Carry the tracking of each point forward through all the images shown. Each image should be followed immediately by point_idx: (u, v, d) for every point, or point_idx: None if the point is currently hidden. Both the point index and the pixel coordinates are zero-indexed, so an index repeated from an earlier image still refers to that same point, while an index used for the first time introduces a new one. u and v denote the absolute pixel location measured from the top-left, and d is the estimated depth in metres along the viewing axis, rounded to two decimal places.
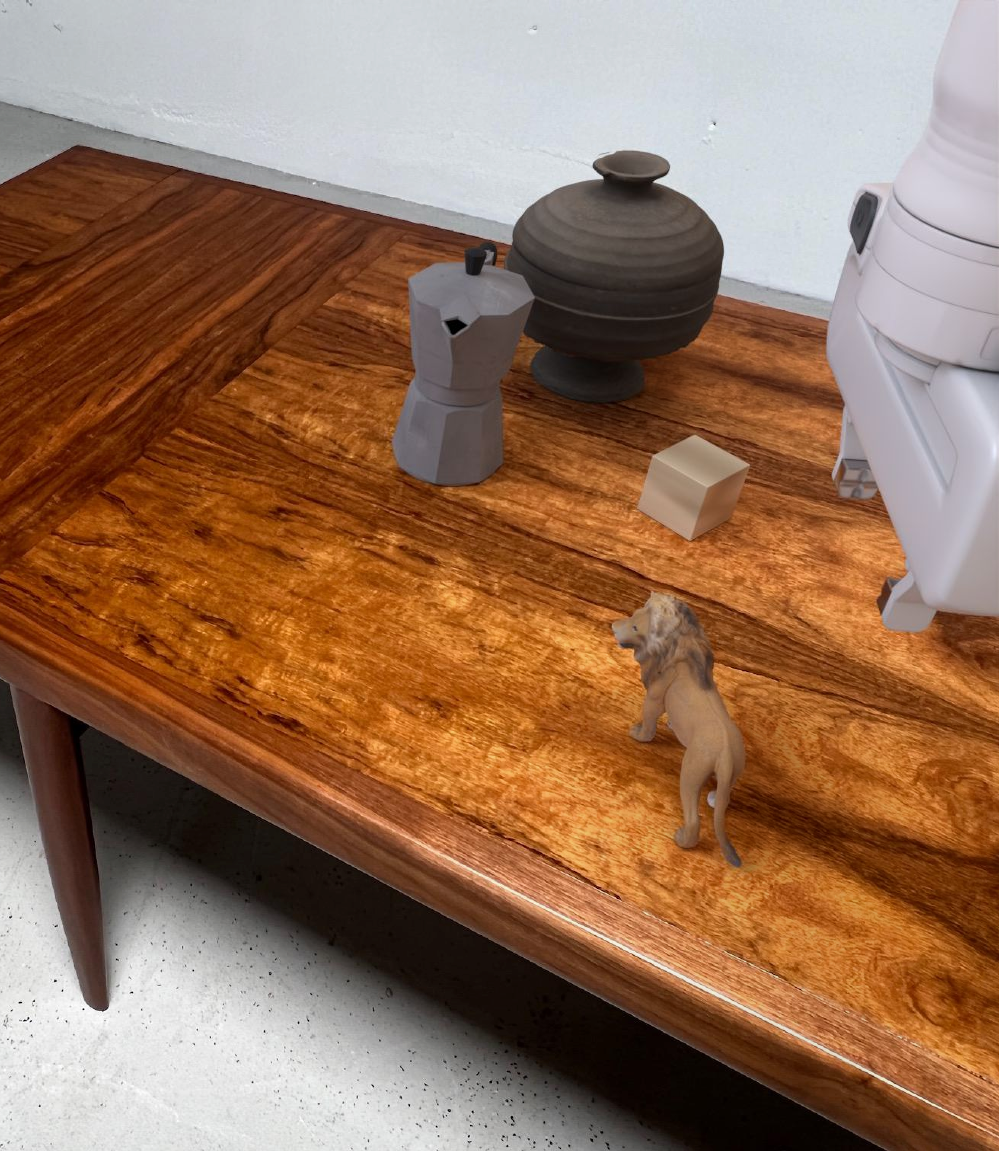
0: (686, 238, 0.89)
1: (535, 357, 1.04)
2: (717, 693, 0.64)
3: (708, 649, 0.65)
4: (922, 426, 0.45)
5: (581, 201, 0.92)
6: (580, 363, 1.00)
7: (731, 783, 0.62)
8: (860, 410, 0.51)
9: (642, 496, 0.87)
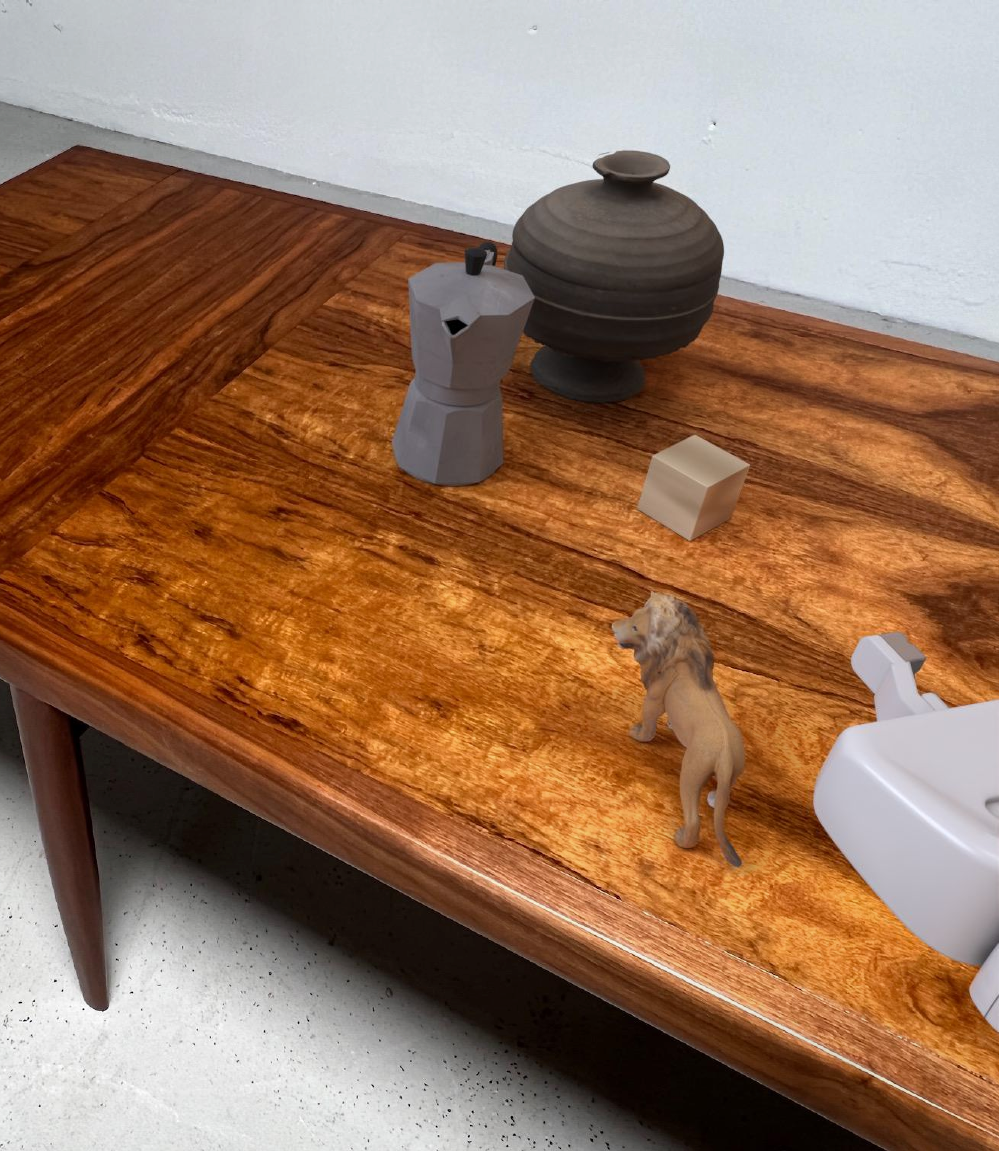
0: (686, 238, 0.89)
1: (535, 357, 1.04)
2: (717, 693, 0.64)
3: (708, 649, 0.65)
4: None
5: (581, 201, 0.92)
6: (580, 363, 1.00)
7: (731, 783, 0.62)
8: None
9: (642, 496, 0.87)
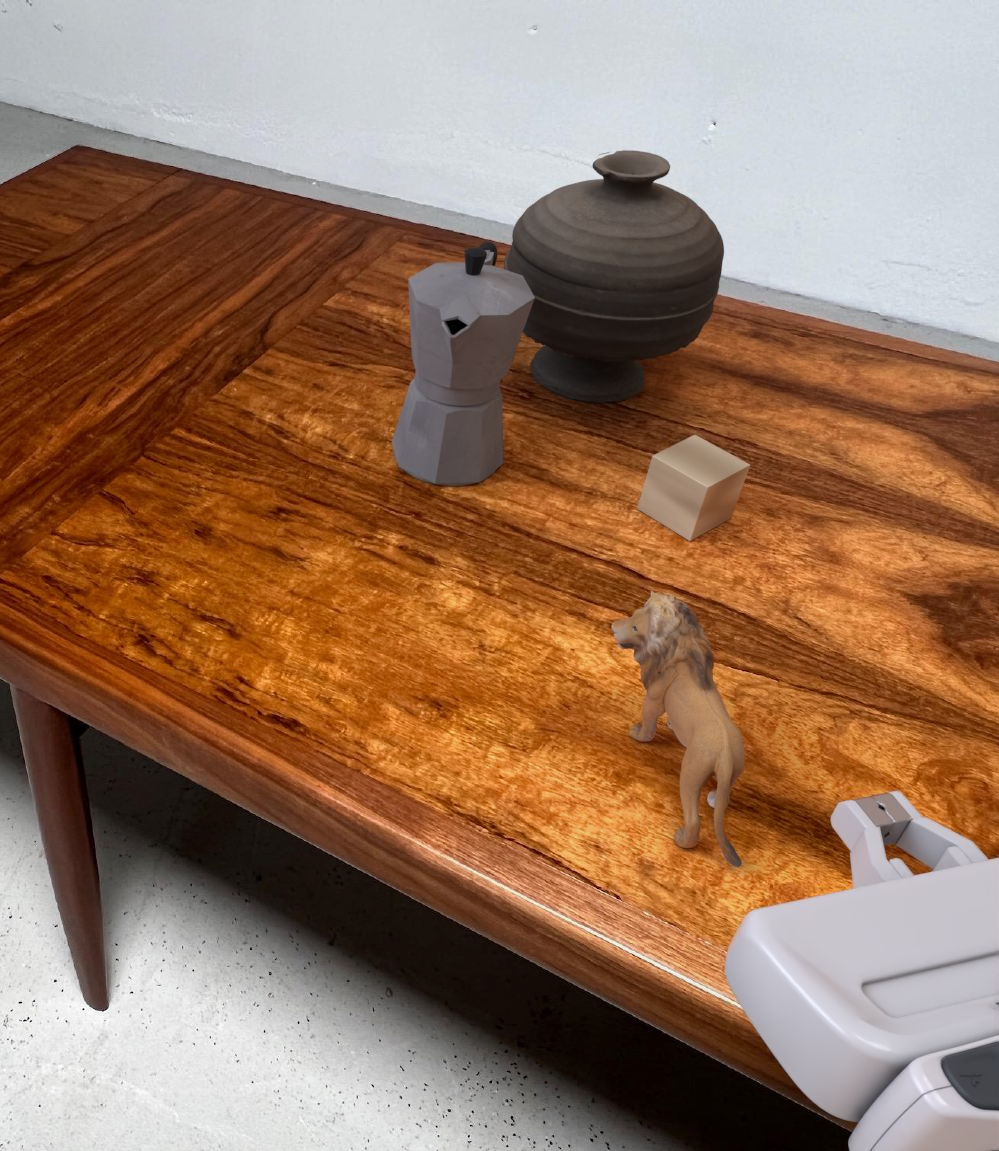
0: (686, 238, 0.89)
1: (535, 357, 1.04)
2: (717, 693, 0.64)
3: (708, 649, 0.65)
4: None
5: (581, 201, 0.92)
6: (580, 363, 1.00)
7: (731, 783, 0.62)
8: None
9: (642, 496, 0.87)
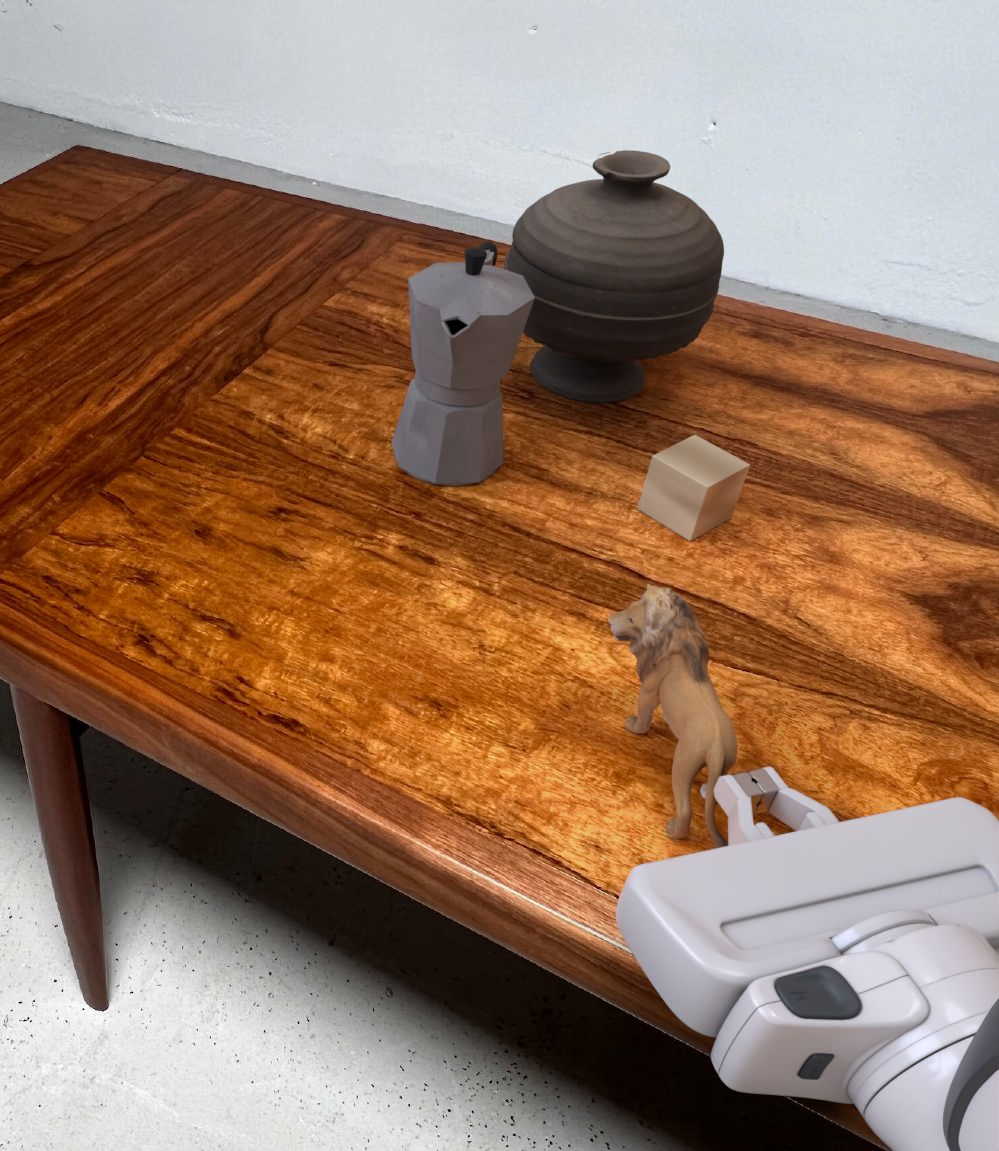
0: (686, 238, 0.89)
1: (535, 357, 1.04)
2: (711, 685, 0.65)
3: (703, 642, 0.66)
4: None
5: (581, 201, 0.92)
6: (580, 363, 1.00)
7: (723, 774, 0.62)
8: None
9: (642, 496, 0.87)
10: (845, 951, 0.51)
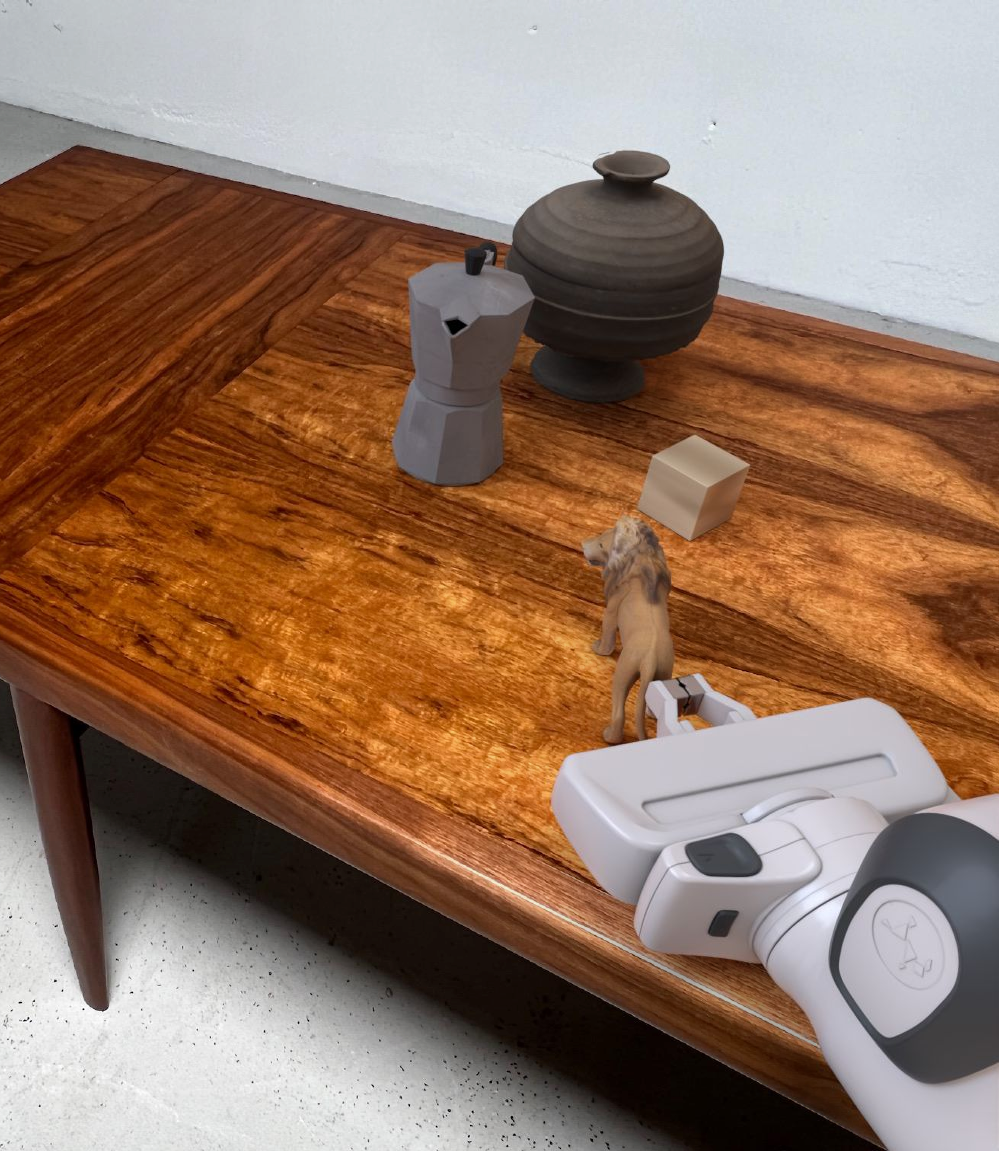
0: (686, 238, 0.89)
1: (535, 357, 1.04)
2: (663, 609, 0.70)
3: (663, 569, 0.71)
4: None
5: (581, 201, 0.92)
6: (580, 363, 1.00)
7: None
8: None
9: (642, 496, 0.87)
10: None
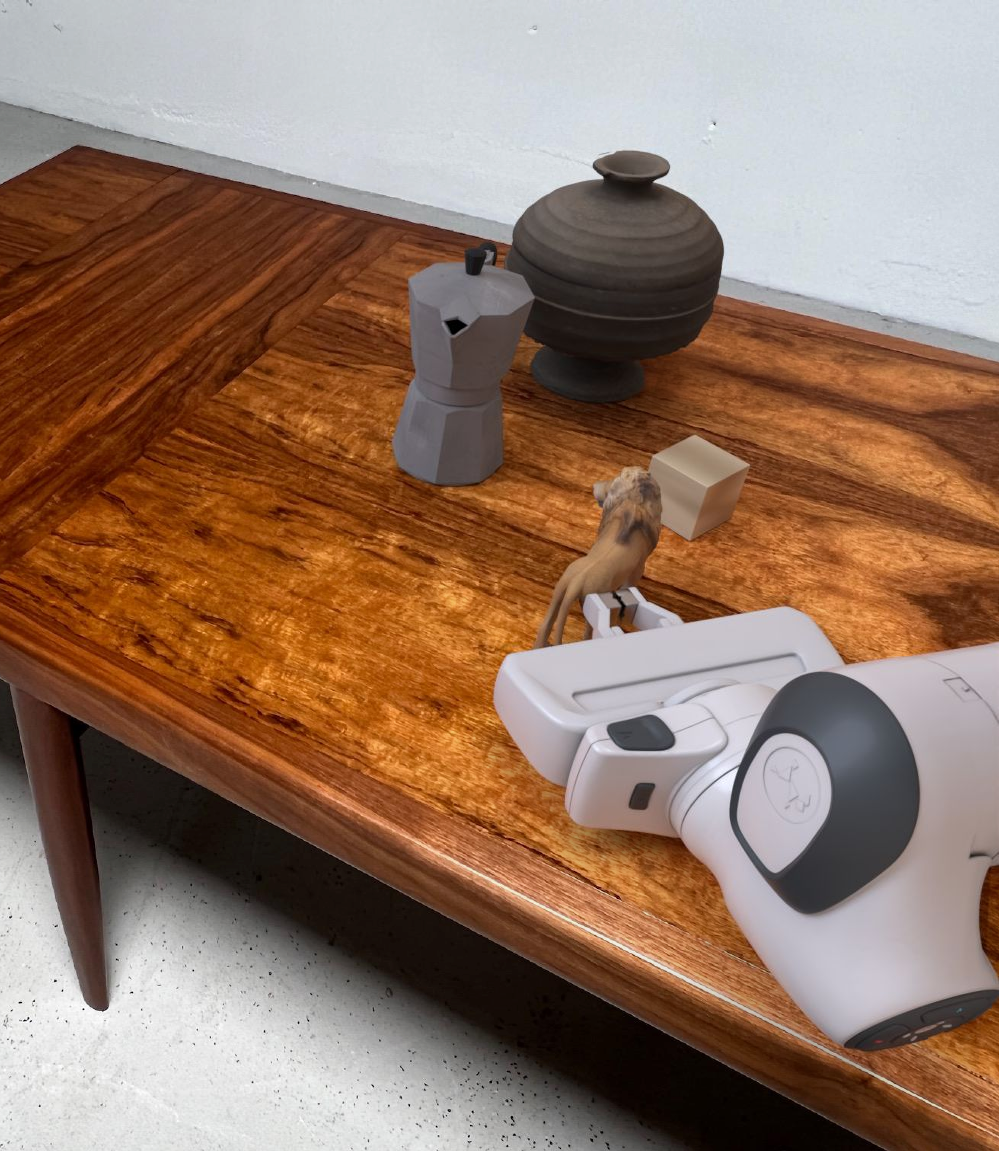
0: (686, 238, 0.89)
1: (535, 357, 1.04)
2: (627, 551, 0.74)
3: (644, 518, 0.75)
4: None
5: (581, 201, 0.92)
6: (580, 363, 1.00)
7: None
8: None
9: None
10: None
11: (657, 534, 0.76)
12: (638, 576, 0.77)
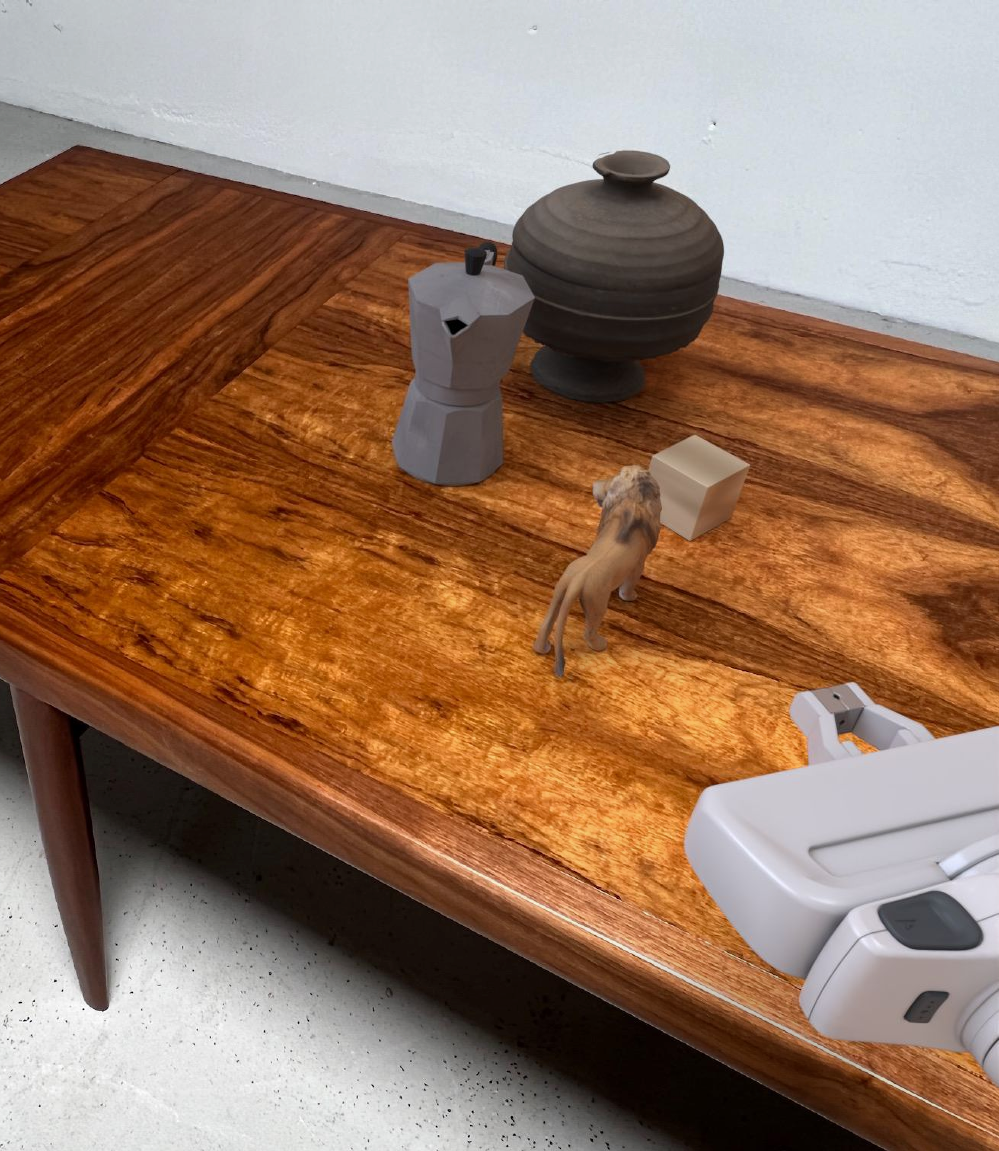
0: (686, 238, 0.89)
1: (535, 357, 1.04)
2: (627, 550, 0.74)
3: (644, 517, 0.75)
4: None
5: (581, 201, 0.92)
6: (580, 363, 1.00)
7: (586, 611, 0.73)
8: None
9: None
10: (955, 877, 0.44)
11: (657, 533, 0.76)
12: (637, 575, 0.77)
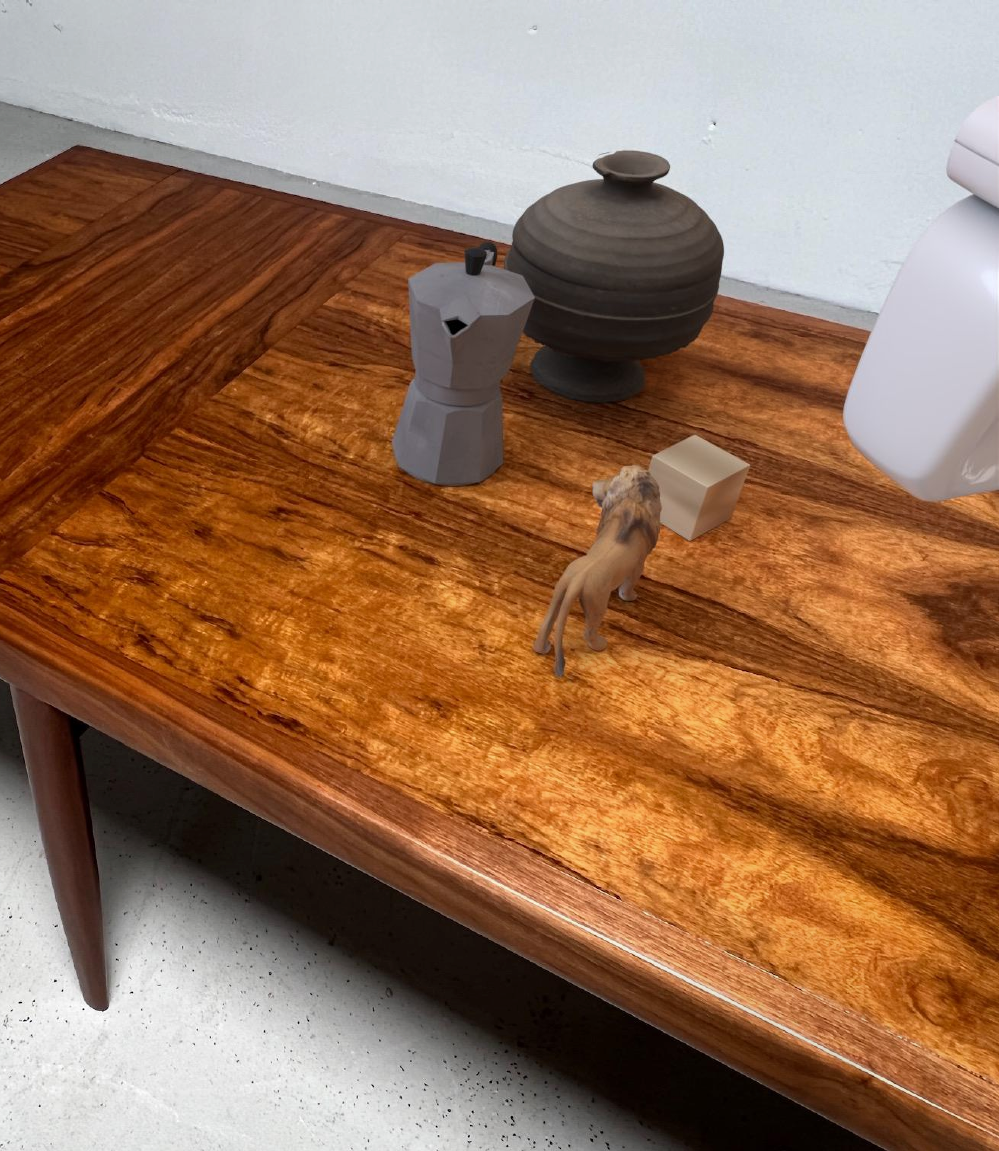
0: (686, 238, 0.89)
1: (535, 357, 1.04)
2: (627, 550, 0.74)
3: (644, 517, 0.75)
4: None
5: (581, 201, 0.92)
6: (580, 363, 1.00)
7: (586, 611, 0.73)
8: None
9: None
10: None
11: (656, 533, 0.76)
12: (637, 575, 0.77)
